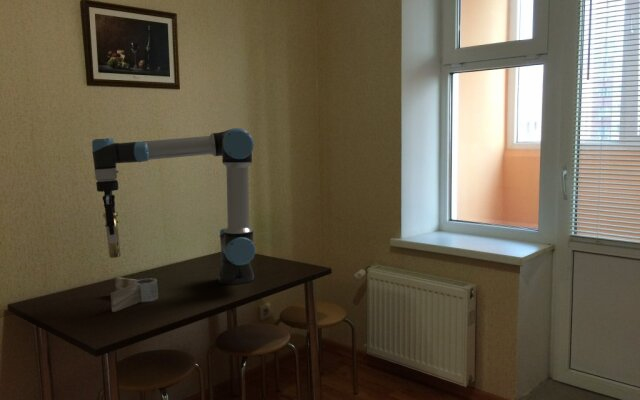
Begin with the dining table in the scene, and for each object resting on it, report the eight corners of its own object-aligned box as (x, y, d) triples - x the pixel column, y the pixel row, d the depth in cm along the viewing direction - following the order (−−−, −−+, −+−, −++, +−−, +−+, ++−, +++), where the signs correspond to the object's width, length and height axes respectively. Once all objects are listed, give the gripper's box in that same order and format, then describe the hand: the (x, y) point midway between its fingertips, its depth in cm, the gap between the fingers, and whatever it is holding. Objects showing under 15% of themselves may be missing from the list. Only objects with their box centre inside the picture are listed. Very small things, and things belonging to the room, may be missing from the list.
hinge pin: (125, 255, 199) (120, 212, 197) (114, 258, 195) (109, 214, 193) (115, 254, 202) (111, 211, 200) (104, 257, 197) (99, 214, 195)
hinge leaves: (149, 298, 204) (147, 281, 203) (114, 312, 189) (112, 293, 188) (118, 293, 212) (117, 277, 211) (83, 306, 197) (81, 288, 196)
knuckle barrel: (162, 296, 206) (161, 279, 205) (146, 303, 198) (145, 285, 197) (147, 294, 209) (145, 277, 209) (130, 300, 202) (129, 283, 201)
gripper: (115, 181, 187) (122, 244, 191) (119, 177, 204) (125, 236, 207) (93, 182, 185) (100, 247, 188) (98, 179, 201) (105, 238, 204)
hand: (113, 241), depth 197 cm, fingers closed on hinge pin, 4 cm apart
